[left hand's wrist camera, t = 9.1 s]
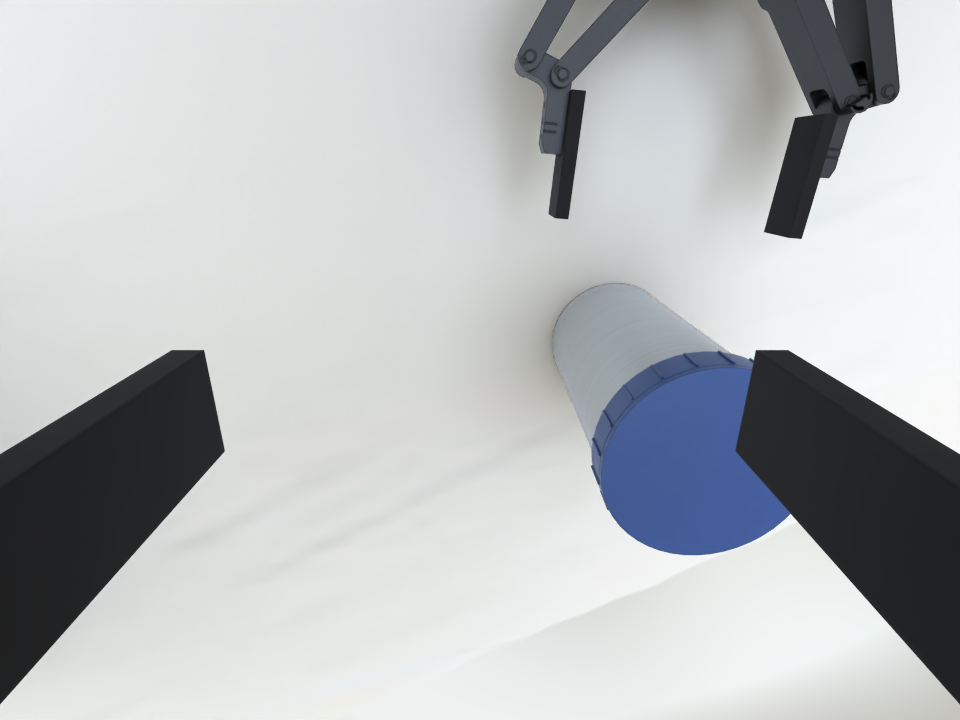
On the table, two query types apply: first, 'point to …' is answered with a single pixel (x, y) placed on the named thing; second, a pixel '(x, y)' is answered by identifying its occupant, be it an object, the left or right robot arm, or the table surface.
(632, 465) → the lid
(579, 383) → the jar
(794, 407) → the left robot arm
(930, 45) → the table surface
